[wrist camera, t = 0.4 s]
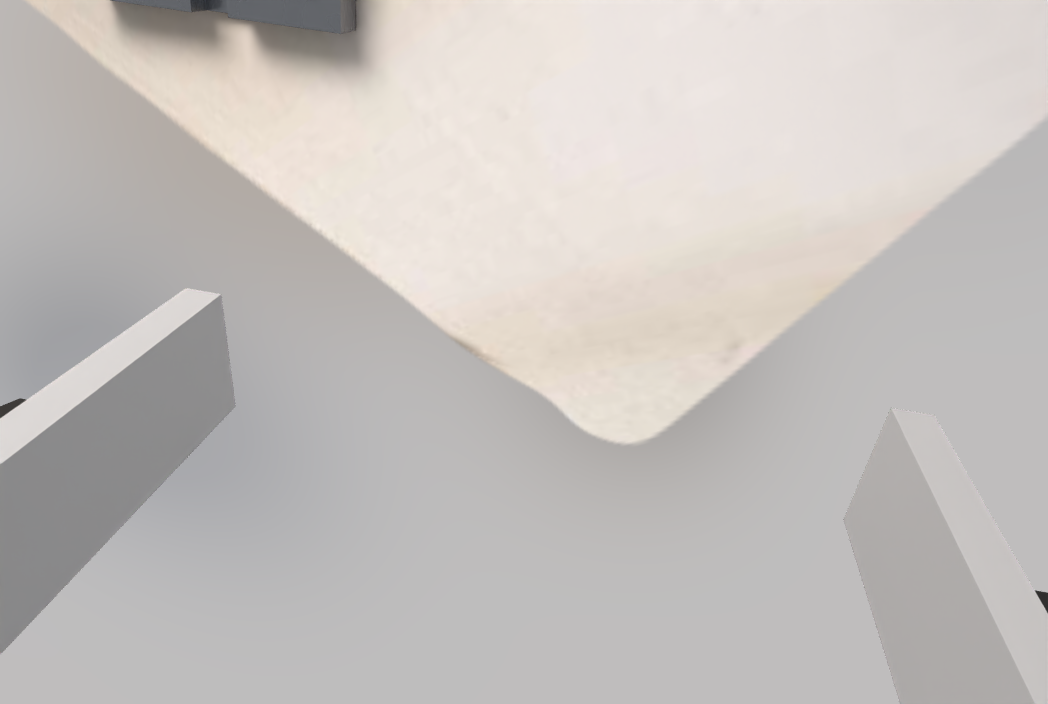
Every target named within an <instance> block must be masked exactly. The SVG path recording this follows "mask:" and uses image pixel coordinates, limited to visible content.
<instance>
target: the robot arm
mask: <svg viewBox="0 0 1048 704" xmlns="http://www.w3.org/2000/svg"><path fill="white" fill-rule="evenodd" d="M235 406H236V405H235V398H234V390H233V382H232V374H231V366H230V359H229V351H228V343H227V336H226V327H225V320H224V312H223V305H222V296H221V294H217V293H210V292H205V291H199V290H193V289H187V288H186V289H184V290H183V291H181V292H180V293H178V294H177V295H176V296H174V297H173V298H171V299H170V300H169V301H167V302H166V303H164V304H163V305H161V306H160V307H159V308H157V309H156V310H154V311H153V312H151V313H150V314H149V315H147V316H146V317H144V318H143V319H142V320H140V321H139V322H137V323H136V324H135V325H133V326H131V327H130V328H129V329H127V330H126V331H124V332H123V333H122V334H120V335H119V336H117V337H116V338H114V339H113V340H111V341H110V342H109V343H107V344H106V345H104V346H103V347H102V348H100V349H99V350H97V351H96V352H94V353H93V354H92V355H90V356H89V357H87V358H86V359H84V360H83V361H82V362H80V363H79V364H77V365H76V366H74V367H73V368H72V369H70V370H69V371H67V372H66V373H64V374H63V375H62V376H60V377H59V378H57V379H56V380H55V381H53V382H52V383H50V384H49V385H47V386H46V387H44V388H43V389H42V390H40V391H39V392H37V393H36V394H34V395H33V396H32V397H30V398H29V399H27V400H25V399H17V400H15V401H13V402H10V403H8V404H5V405H3V406H0V654H1V653H2V652H3V651H4V650H5V649H6V648H7V647H8V646H9V645H10V644H11V643H12V642H13V641H14V639H16V637H17V636H18V635H19V634H20V633H21V632H22V631H23V630H24V629H25V628H26V627H27V626H28V625H29V624H30V623H31V622H32V621H33V620H34V618H35V617H36V616H37V615H38V614H39V613H40V612H41V611H42V610H43V609H44V608H45V607H46V606H47V605H48V604H49V603H50V602H51V601H52V600H53V599H54V597H55V596H56V595H57V594H58V593H59V592H60V591H61V590H62V589H63V588H64V587H65V586H66V585H67V584H68V583H69V582H70V580H72V578H73V577H74V576H75V575H76V574H77V573H78V572H79V571H80V570H81V569H82V568H83V567H84V566H85V565H86V564H87V563H88V562H89V561H90V559H91V558H92V557H93V556H94V555H95V554H96V553H97V552H98V551H99V550H100V549H101V548H102V547H103V546H104V545H105V543H107V542H108V540H109V539H110V538H111V537H112V536H113V535H114V534H115V533H116V532H117V531H118V530H119V529H120V527H122V526H123V525H124V523H126V521H127V520H128V519H129V518H130V517H131V516H132V515H133V514H134V513H135V512H136V511H137V510H138V509H139V508H140V507H141V506H142V505H143V503H144V502H145V501H146V500H147V499H148V498H149V497H150V496H151V495H152V494H153V493H154V492H155V491H156V490H157V489H158V488H159V487H160V486H161V485H162V484H163V482H164V481H165V480H166V479H167V478H168V477H169V476H170V475H171V474H172V473H173V472H174V471H175V470H176V469H177V468H178V466H180V464H181V463H182V462H183V461H184V460H185V459H186V458H187V457H188V456H189V455H190V454H191V453H192V452H193V451H194V450H195V449H196V448H197V447H198V446H199V444H200V443H201V442H202V441H203V440H204V439H205V438H206V437H207V436H208V435H209V434H210V433H211V432H212V431H213V430H214V429H215V427H217V425H218V424H219V423H220V422H221V421H222V420H223V419H224V418H225V417H226V416H227V415H228V414H229V413H230V412H231V411H232V410H233V408H235ZM844 523H845V526H846V530H847V533H848V536H849V539H850V542H851V546H852V549H853V552H854V555H855V559H856V562H857V565H858V568H859V572H860V575H861V578H862V581H863V585H864V588H865V591H866V594H867V598H868V601H869V604H870V607H871V610H872V614H873V617H874V620H875V624H876V627H877V630H878V633H879V637H880V640H881V643H882V646H883V650H884V653H885V656H886V659H887V663H888V666H889V669H890V672H891V676H892V679H893V682H894V685H895V689H896V692H897V695H898V698H899V702H900V704H1048V593H1046V592H1040V591H1035V590H1034V589H1033V587H1032V585H1031V583H1030V582H1029V580H1028V578H1027V576H1026V575H1025V573H1024V571H1023V569H1022V568H1021V566H1020V564H1019V562H1018V561H1017V559H1016V557H1015V555H1014V554H1013V552H1012V550H1011V548H1010V547H1009V545H1008V543H1007V542H1006V540H1005V538H1004V536H1003V534H1002V533H1001V531H1000V529H999V527H998V526H997V524H996V522H995V521H994V519H993V517H992V515H991V513H990V512H989V510H988V508H987V507H986V505H985V503H984V501H983V499H982V498H981V496H980V494H979V492H978V491H977V489H976V487H975V486H974V484H973V482H972V480H971V479H970V477H969V475H968V473H967V472H966V470H965V468H964V466H963V465H962V463H961V461H960V459H959V458H958V456H957V454H956V452H955V451H954V449H953V447H952V445H951V444H950V442H949V440H948V439H947V437H946V435H945V433H944V431H943V430H942V428H941V426H940V425H939V423H938V421H937V419H936V417H935V416H934V415H931V414H925V413H918V412H912V411H907V410H901V409H895V408H891V409H890V411H889V413H888V416H887V418H886V420H885V423H884V425H883V427H882V430H881V432H880V435H879V437H878V439H877V442H876V444H875V446H874V449H873V451H872V453H871V456H870V458H869V461H868V463H867V465H866V467H865V470H864V472H863V475H862V477H861V479H860V482H859V484H858V486H857V489H856V491H855V494H854V496H853V498H852V501H851V503H850V505H849V508H848V510H847V512H846V515H845V517H844Z"/></svg>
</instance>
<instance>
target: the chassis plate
mask: <svg viewBox="0 0 1048 704" xmlns="http://www.w3.org/2000/svg"><path fill="white" fill-rule="evenodd" d="M112 1H119V2H126V3H132V4H139V5H146V6H153V7H160V8H167V9H174V10H181V11H188V12H196V11H205V10H210V11H217V12H224V13H228V17H229V18H236V19H243V20H250V21H257V22H263V23H270V24H277V25H284V26H291V27H298V28H305V29H312V30H319V31H325V32H332V33H339V34H342V33H346V32H350V31H354V30H356V0H112Z"/></svg>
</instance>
